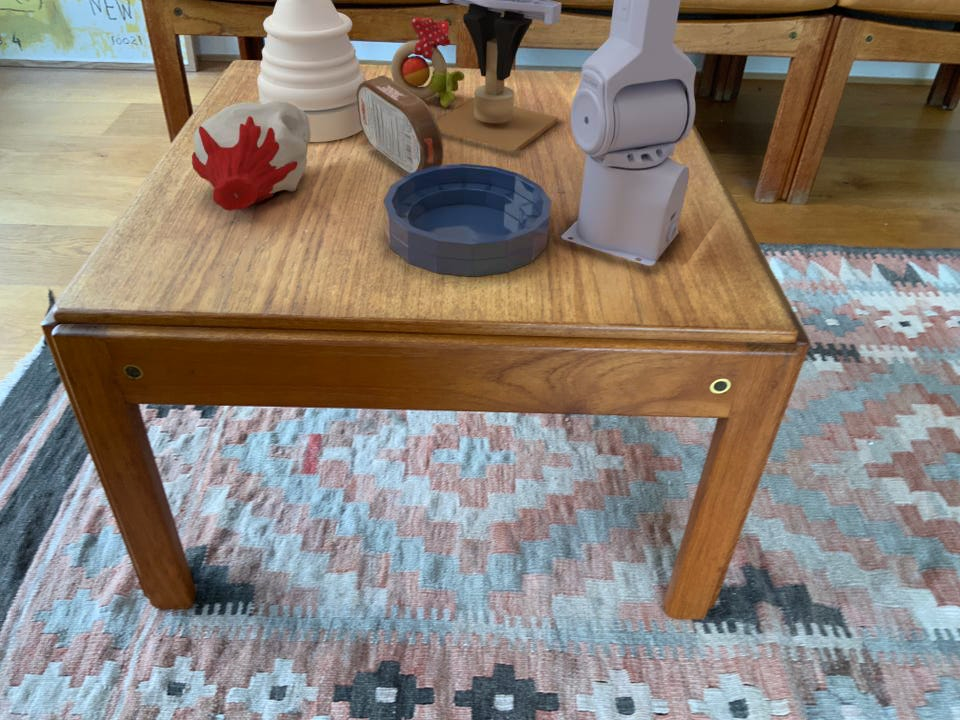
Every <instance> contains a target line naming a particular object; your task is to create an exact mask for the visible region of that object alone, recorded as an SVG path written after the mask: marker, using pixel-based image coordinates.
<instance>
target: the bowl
mask: <svg viewBox="0 0 960 720" xmlns="http://www.w3.org/2000/svg"><path fill="white" fill-rule="evenodd" d="M382 204H383V221H384V223H383V224H384V233H385V237H386V239H387V242H388V245H389V248H390V249H391V250H392V251H393V252H395V253H396V254H397V255H398V256H399V257H401V258H402V259H403V260H405V261H406V262H407V263H408V264H409V265H413V266H416V267H418V268H422V269H424V270H427V271H430V272H433V273H436V274H440V275H441V274H443V275H451V276H452V275H453V276H460V277H461V276H462V277H472V278H473V277H475V278H476V277H481V276H483V277H484V276H490V275H491V276H493V275H500V274H506V273H508V272H511V271H514V270H516V269H518V268H521V267H524V266H526V265H529V264H532V263H533V261H534V260H536V259H537V257H538V256H540V254H542V253H543V252H544V251H545V249H547V245H548V237H549V227H550V219H551V209H552V199H551V198H550V197H549V195H548V194H547V193H546V191H545V190H544V188H543V186H541V185H540V184H539V183H537V182H535V181H533V180H531V179H530V178H529V177H527V176H525V175H523V174H521V173H518V172H515V171H511V170H507V169H504V168H501V167H497V166H493V165H483V164H481V165H480V164H471V163H456V164H445V165H441V166H433V167H429V168H426V169H423V170H419V171H416V172H412V173H409V174H408V173H407V174H406V175H404V176H403V177H401V178H399V179H398V180H396V181H395V182H394V183H391V185H390V186H389V187H388V190H387V192H386V194H385V196H384V198H383V202H382Z"/></svg>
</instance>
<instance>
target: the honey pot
mask: <svg viewBox="0 0 960 720" xmlns="http://www.w3.org/2000/svg"><path fill="white" fill-rule="evenodd" d="M262 26H263V29H264V31H265V32H266V33H267V34H266V38H265V44H264V46H263V48H262V49H261V54H262V59H261V60H260V61H261V62H260V64H259V65H260V72H259V74H258V76H257V80H256V85H257V88H258V89H257V91H258V100H259V103H262V104H265V103H269V102H273V101H283V102H287V103H290V104H292V105H294V106H296V107H297V108H299V109H301V110H303V111H304V112H305V113H306V114H307V117H308V119H309V125H310V132H311V133H310V142H309V143H323V142H331V141H332V142H333V141H337V140H343V139H346V138H348V137H351V136H355V135H356V134H358V133H360V132H361V131H363V130H362V128H361V125H360V119H359V111H358V103H357V95H356V93H357V89H358V87H359V85H360V84H361V83H362V82H364V81H367V78H366V76H365V73H364V71H363V69H362V68H361V64H360V60H359V58H358V57H357V56H356V52H357V50H356V48H355V45H353V44H352V42H351V40H350V37H349V35H348V33H349V32H351V30H352V28H353V22H352V19H351V18H350V17H349V16H348V15H346V14H345V13H342V12H339V11H338V10H337V9H336V7H335V4H334V3H333V0H276V2H275V5H274V8H273V11H272V14H270V15H268V16H267V17H266V18H265V19H264V21H263V23H262Z"/></svg>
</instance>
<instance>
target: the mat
mask: <svg viewBox="0 0 960 720" xmlns="http://www.w3.org/2000/svg"><path fill="white" fill-rule="evenodd" d="M436 122H437V124H438V127H439V131H440V132H442V133H446V134H449V135H453V136H457V137H461V138H464V139H468V140H471V141H475V142H478V143H482V144H486V145H489V146H493V147H496V148H499V149H503V150H507V151H511V152H514V151H516V150H517V149H520V150H522V149H523V148H525V147H526V146H528V145H529V144H530V143H532V142H533V141H534V140H536V139H537V138H538V137H539V136H541V135H542V134H543V133H544V132H547V130H549V129H550V128H552V126H554V125H555V124H556V123H558V117H557V116H554V115H553V116H552V115H548V114H544V113H541V112H537V111H533V110H529V109H525V108H521V107H517V106H513V117H512V119H511V120H509V121H507V122H504V123H486V122H482V121H480V120H478V119H476V118H475V117H474V98H472V99H470V100H469V101H467V102H465V103H464V104H462V105H460V106H459V107H457V108H455V109H454V110H452V111H451V112H449V113H447V114H445V115H444V116H443V117H441V118H439V119H438V120H437V119H436Z"/></svg>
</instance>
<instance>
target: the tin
mask: <svg viewBox="0 0 960 720" xmlns="http://www.w3.org/2000/svg"><path fill="white" fill-rule="evenodd" d="M356 95H357V103H358V111H359V119H360V125H361V128H362V130H361V131H362V133H363V135H364V137H365V139H366V140H367V142H368V144H369V146H371V147H373V148H374V149H375V150H376V151H378V152H379V153H380V154H381V155H383V156H384V157H385V158H387V159H388V160H389V161H390V162H392V163H393V164H395V165H396V166H397V167H398V168H400V169H402V170H403V171H404V172H406V173H407V174H409V173H412V172H416V171H419V170H423V169H426V168H429V167H433V166H442V164H443V159H444V145H443V139H442V134H441V131H439V127H438V124H437V122H436V121H437V119H436V117H435V115H434V114H433V112H432V110H431V108H430V107H429V106H428V104H427V103H426V102H425V101H424V99H420V98H419V97H417V96H415V95H414V94H412V93H411V92H409V91H408V90H406V89H405V88H403V87H402V86H400V85H399V84H397V83H396V82H394V80H393V79H391V78H390V77H389V76H387V75H378V76H377V77H375V78H370V79H366V81H364V82H362V83H361V84H360V85H359V87H358V89H357V93H356Z"/></svg>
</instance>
